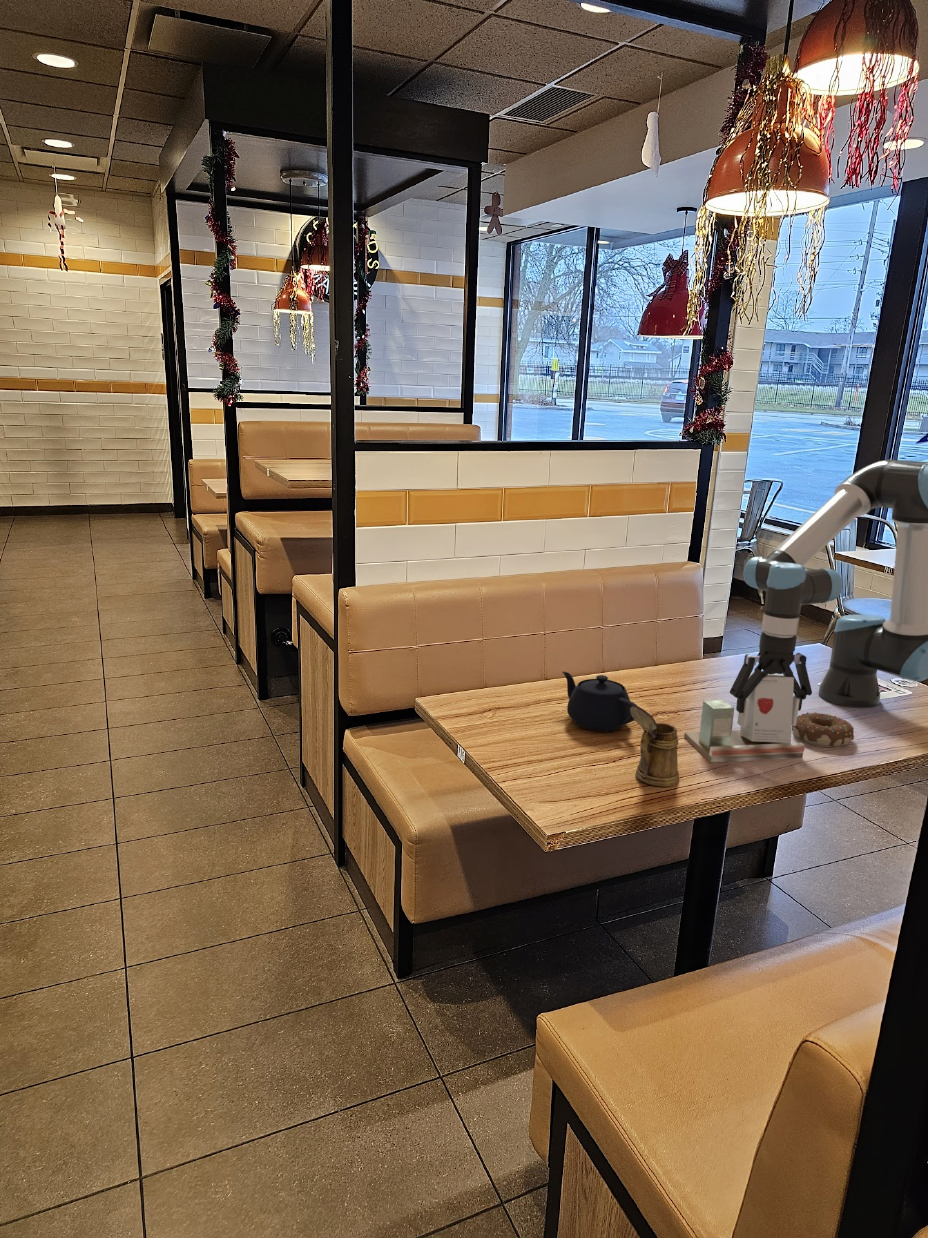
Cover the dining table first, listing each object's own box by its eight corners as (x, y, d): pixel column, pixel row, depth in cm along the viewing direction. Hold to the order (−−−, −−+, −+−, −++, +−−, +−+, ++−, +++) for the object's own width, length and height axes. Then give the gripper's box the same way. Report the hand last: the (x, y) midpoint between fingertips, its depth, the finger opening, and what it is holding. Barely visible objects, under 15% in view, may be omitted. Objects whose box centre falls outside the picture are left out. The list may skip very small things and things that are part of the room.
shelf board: (769, 733, 200) (771, 721, 199) (803, 758, 187) (805, 745, 186) (684, 737, 196) (685, 724, 195) (711, 763, 183) (713, 749, 182)
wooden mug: (611, 780, 173) (618, 699, 168) (654, 765, 181) (662, 686, 176) (645, 797, 166) (653, 712, 161) (687, 780, 174) (696, 699, 169)
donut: (854, 754, 190) (858, 734, 189) (790, 744, 194) (793, 724, 193) (850, 732, 203) (853, 713, 202) (790, 723, 207) (793, 704, 206)
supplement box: (751, 742, 186) (753, 675, 186) (739, 735, 195) (741, 672, 195) (792, 743, 186) (795, 676, 186) (778, 737, 195) (781, 673, 195)
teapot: (656, 732, 199) (661, 684, 196) (612, 747, 190) (616, 696, 186) (581, 701, 218) (585, 656, 215) (537, 713, 209) (540, 666, 205)
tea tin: (719, 740, 192) (723, 700, 189) (729, 750, 187) (734, 708, 184) (698, 741, 191) (703, 700, 188) (708, 751, 186) (713, 709, 183)
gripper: (818, 627, 190) (805, 716, 196) (720, 629, 186) (710, 720, 192) (837, 636, 183) (823, 729, 189) (737, 638, 179) (725, 733, 185)
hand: (766, 724), depth 190 cm, fingers open, 12 cm apart
